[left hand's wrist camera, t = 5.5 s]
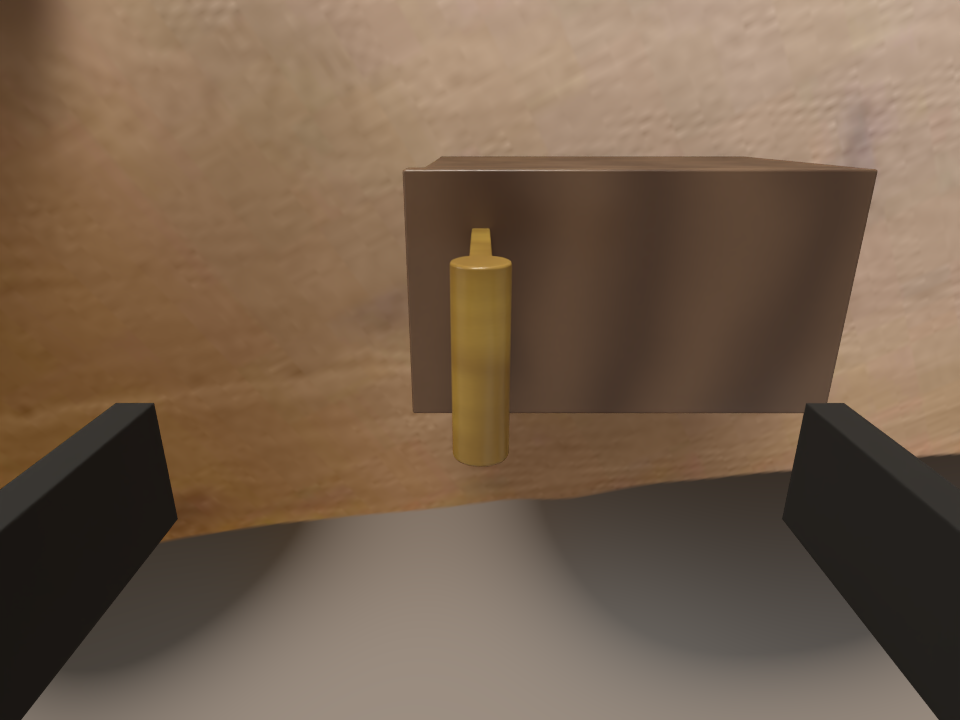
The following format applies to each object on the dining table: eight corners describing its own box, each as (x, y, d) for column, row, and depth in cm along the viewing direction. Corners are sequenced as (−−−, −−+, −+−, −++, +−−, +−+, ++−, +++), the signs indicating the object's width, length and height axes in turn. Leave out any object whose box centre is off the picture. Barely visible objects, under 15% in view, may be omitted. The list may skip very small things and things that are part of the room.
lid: (415, 401, 27) (385, 525, 19) (406, 167, 24) (364, 187, 15) (810, 401, 27) (961, 525, 19) (858, 167, 24) (1072, 188, 15)
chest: (444, 327, 38) (430, 400, 27) (440, 156, 34) (423, 167, 24) (719, 327, 38) (809, 400, 27) (744, 156, 34) (857, 167, 24)
